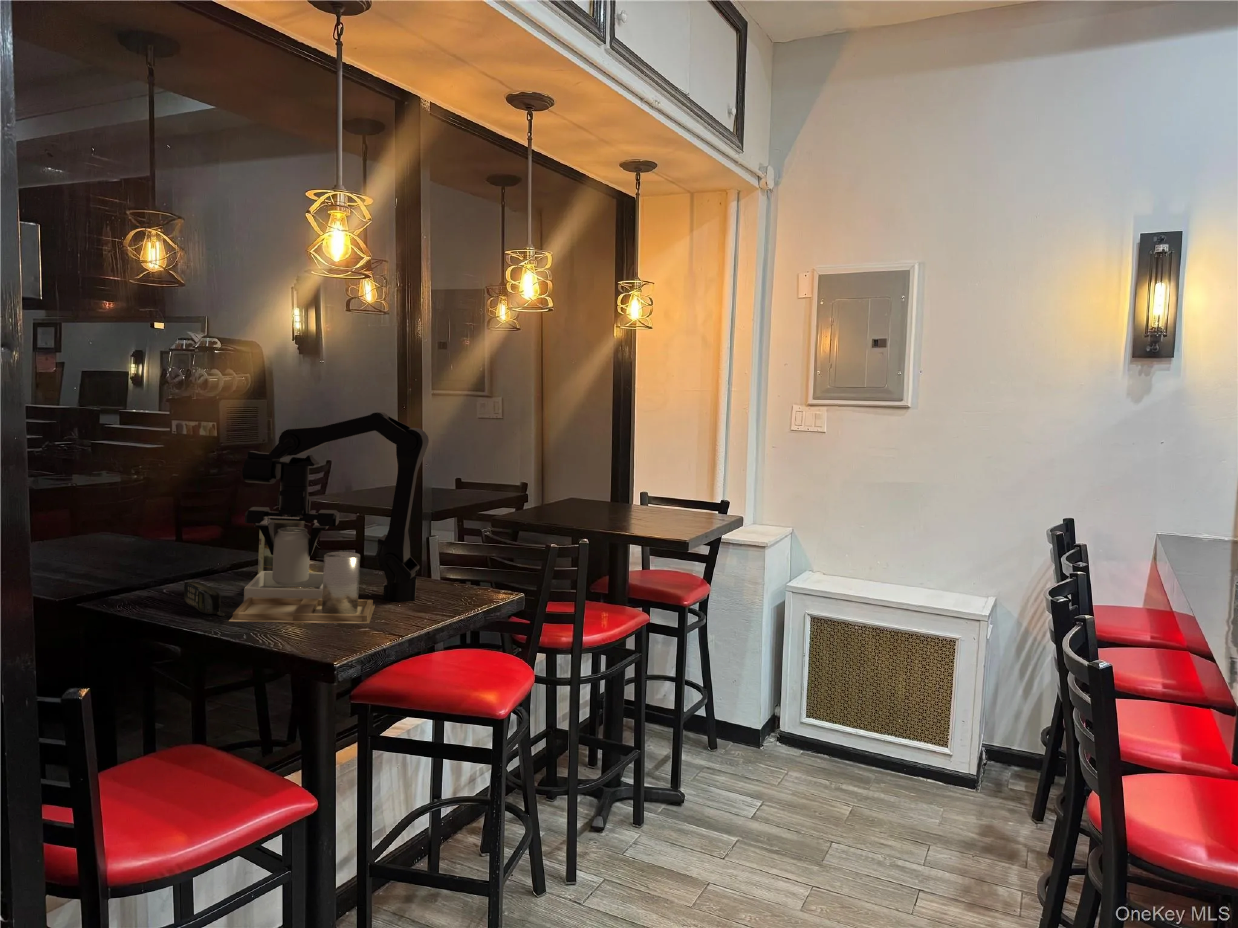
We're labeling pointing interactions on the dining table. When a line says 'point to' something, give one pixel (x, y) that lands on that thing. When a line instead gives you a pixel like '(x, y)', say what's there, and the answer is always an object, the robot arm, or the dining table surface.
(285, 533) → the can
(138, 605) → the dining table surface
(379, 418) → the robot arm
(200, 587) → the mobile phone
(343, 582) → the steel billet
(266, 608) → the wooden divided tray
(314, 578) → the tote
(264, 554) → the coffee can
